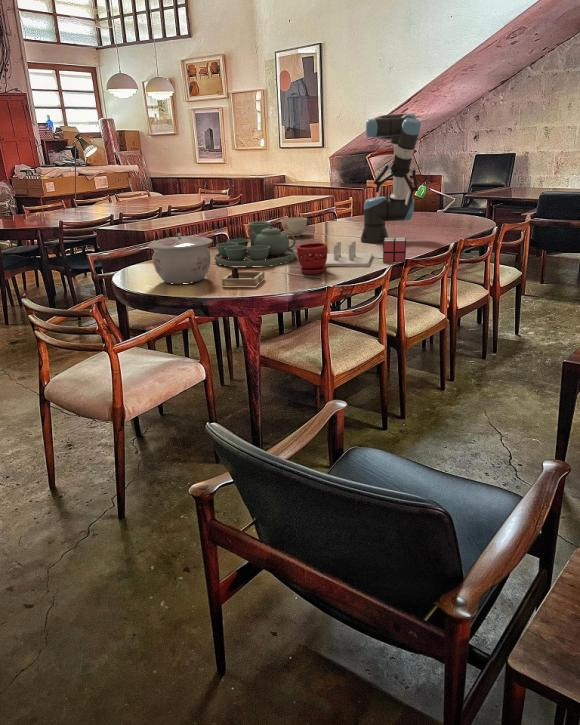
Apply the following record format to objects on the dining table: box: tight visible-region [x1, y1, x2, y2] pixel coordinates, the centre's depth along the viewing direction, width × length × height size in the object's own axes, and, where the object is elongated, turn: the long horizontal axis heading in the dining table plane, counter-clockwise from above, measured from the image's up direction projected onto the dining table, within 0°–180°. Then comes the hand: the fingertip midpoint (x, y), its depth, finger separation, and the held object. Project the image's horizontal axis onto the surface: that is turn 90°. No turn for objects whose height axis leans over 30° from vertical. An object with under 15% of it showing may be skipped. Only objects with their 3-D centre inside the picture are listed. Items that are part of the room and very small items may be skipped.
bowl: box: [280, 216, 308, 237], centre depth 350 cm, size 16×16×10 cm
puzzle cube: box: [382, 237, 407, 264], centre depth 268 cm, size 10×10×10 cm
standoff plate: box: [325, 241, 374, 268], centre depth 273 cm, size 24×24×8 cm
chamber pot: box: [146, 232, 213, 285], centre depth 248 cm, size 28×28×21 cm
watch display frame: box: [221, 271, 266, 287], centre depth 241 cm, size 14×14×4 cm
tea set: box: [214, 220, 297, 267], centre depth 285 cm, size 40×40×16 cm
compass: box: [231, 267, 239, 279], centre depth 241 cm, size 8×8×7 cm
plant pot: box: [296, 242, 328, 275], centre depth 254 cm, size 13×13×12 cm
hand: (391, 201), depth 268 cm, fingers open, 13 cm apart
